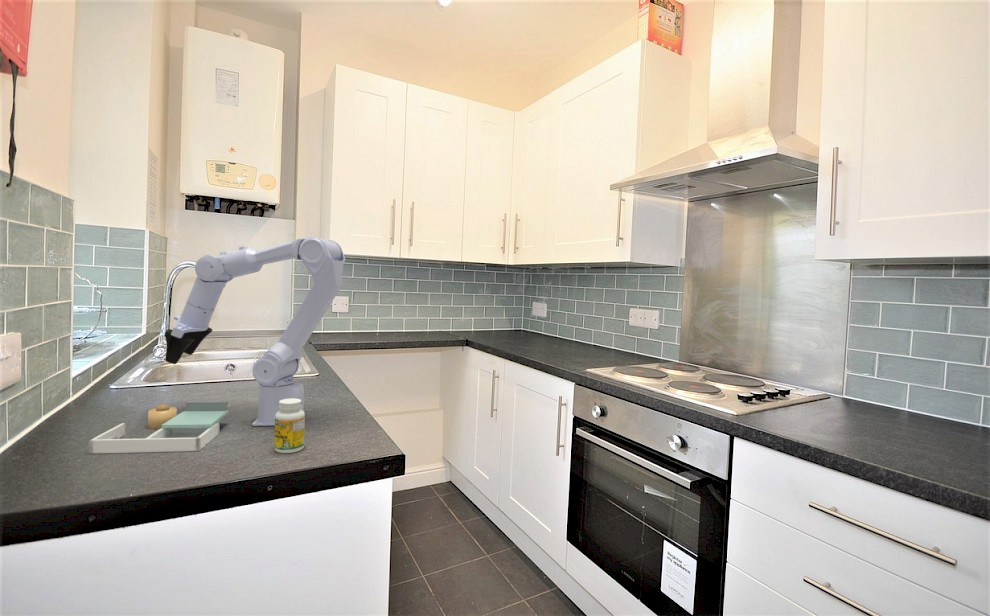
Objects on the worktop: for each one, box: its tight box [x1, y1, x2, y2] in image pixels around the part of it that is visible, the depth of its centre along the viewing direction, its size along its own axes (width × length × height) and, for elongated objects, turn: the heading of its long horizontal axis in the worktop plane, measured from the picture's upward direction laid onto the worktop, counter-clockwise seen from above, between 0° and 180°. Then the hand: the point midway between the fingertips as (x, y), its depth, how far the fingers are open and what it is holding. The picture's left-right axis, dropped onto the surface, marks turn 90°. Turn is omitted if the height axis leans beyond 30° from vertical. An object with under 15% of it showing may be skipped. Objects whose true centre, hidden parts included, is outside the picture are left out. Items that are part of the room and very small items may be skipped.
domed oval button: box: [147, 403, 178, 430], centre depth 100 cm, size 5×5×4 cm
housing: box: [88, 421, 221, 454], centre depth 90 cm, size 18×10×2 cm, turn 102°
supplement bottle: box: [274, 398, 306, 454], centre depth 90 cm, size 5×5×10 cm
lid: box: [162, 400, 230, 428], centre depth 97 cm, size 9×10×3 cm
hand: (179, 357), depth 107 cm, fingers open, 7 cm apart
